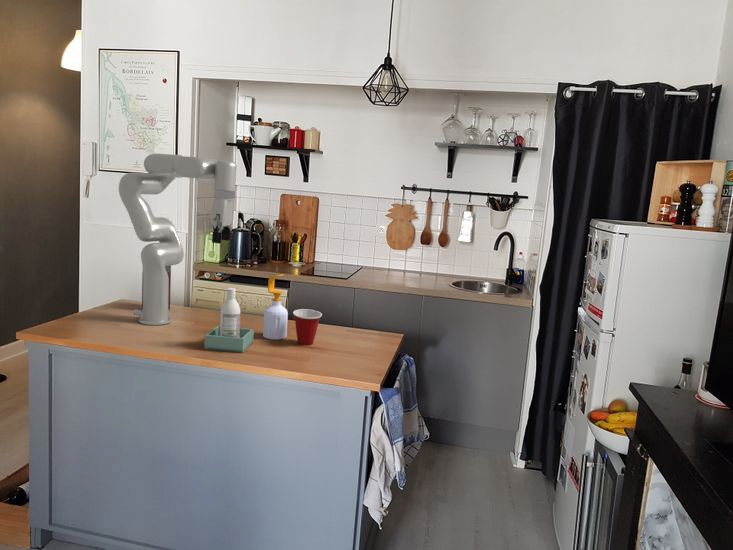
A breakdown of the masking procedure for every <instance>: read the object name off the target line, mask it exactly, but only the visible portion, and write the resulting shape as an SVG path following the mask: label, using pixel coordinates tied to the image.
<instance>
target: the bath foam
mask: <svg viewBox="0 0 733 550" xmlns="http://www.w3.org/2000/svg"><path fill="white" fill-rule="evenodd" d="M224 300H225V301H224V302H223V303H222V305H221V306H220V314H219V326H220V334H219V336H224V337H235V338H239V334H240V328H241V308H240V304H239V303H238V301H237V299H236V288H234V287H228V288H226V298H225V299H224Z"/></svg>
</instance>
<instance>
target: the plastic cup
mask: <svg viewBox="0 0 733 550" xmlns="http://www.w3.org/2000/svg"><path fill="white" fill-rule="evenodd" d="M292 314H293V317H294V321H295V323H294V324H295V330H296V339H297V344H298V345H300V346H311V345H313V344H314V342H315V338H316V336H317V335H316V334H317V330H318V325H319V322H320V319H321V317H322V316H323V313H322V312H320V311H319V310H318V311H317V310H314V309H308V308H300V309H294V311H293V312H292Z"/></svg>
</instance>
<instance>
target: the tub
mask: <svg viewBox="0 0 733 550" xmlns="http://www.w3.org/2000/svg"><path fill="white" fill-rule="evenodd" d="M219 334H220V325H217V326H216V327H214V328H213V329H212V330H210V331H209V332H207V333H206V334H205V335H204V348H203V349H204V350H207V351H218V352H219V351H220V352H228V353H239V354H240V353H241V354H244V352H246V350H247V349H248V348H250V346H251V345H252V344H253V343H254V336H255V335H254V334H255V329H252V328H246V327H245V328H244V327H240V334H239V338H235V337H224V336H219Z"/></svg>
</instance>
